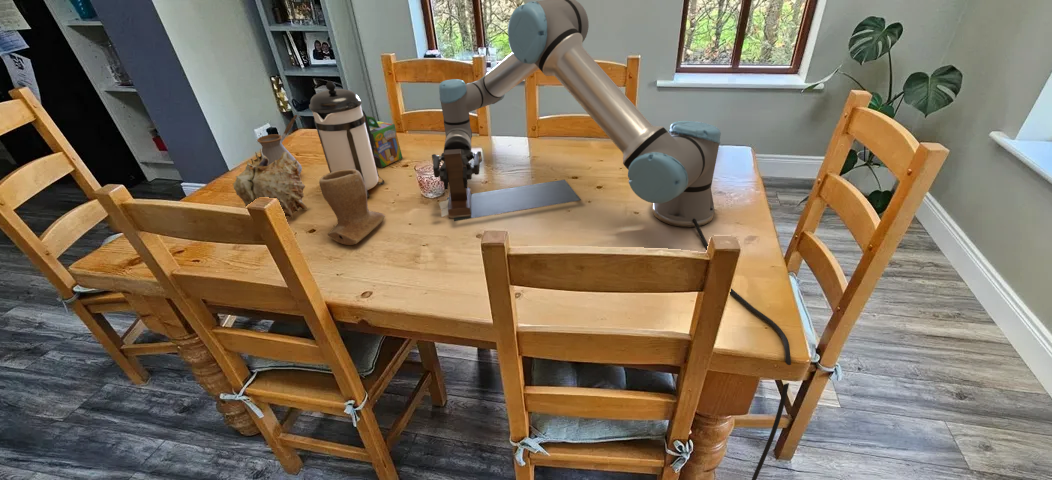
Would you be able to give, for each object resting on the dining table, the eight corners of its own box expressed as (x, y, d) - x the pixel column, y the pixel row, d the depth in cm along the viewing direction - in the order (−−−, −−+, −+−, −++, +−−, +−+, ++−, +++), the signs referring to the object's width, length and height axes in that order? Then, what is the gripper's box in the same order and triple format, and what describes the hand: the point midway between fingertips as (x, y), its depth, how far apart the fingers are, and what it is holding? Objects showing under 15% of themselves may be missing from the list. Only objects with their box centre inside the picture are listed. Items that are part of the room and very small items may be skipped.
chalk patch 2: (449, 216, 124) (448, 214, 123) (435, 222, 124) (434, 220, 124) (450, 209, 127) (448, 206, 126) (436, 215, 127) (435, 212, 127)
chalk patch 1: (448, 209, 127) (447, 207, 126) (435, 214, 128) (433, 211, 127) (450, 201, 130) (449, 198, 129) (437, 205, 131) (435, 203, 130)
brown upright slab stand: (471, 216, 123) (463, 160, 114) (449, 218, 123) (439, 162, 114) (471, 195, 133) (464, 142, 124) (451, 197, 132) (442, 143, 123)
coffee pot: (291, 188, 143) (272, 138, 134) (255, 186, 144) (235, 137, 135) (328, 160, 160) (314, 114, 151) (296, 158, 161) (280, 113, 152)
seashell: (297, 136, 125) (249, 142, 128) (253, 166, 111) (200, 173, 114) (328, 197, 135) (283, 201, 139) (292, 232, 121) (243, 236, 125)
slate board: (581, 205, 130) (581, 200, 129) (454, 226, 122) (454, 221, 121) (564, 184, 141) (564, 179, 140) (447, 202, 133) (446, 197, 132)
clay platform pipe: (352, 214, 129) (336, 160, 120) (392, 219, 126) (379, 164, 117) (315, 243, 117) (295, 186, 108) (358, 250, 114) (341, 191, 105)
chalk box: (403, 158, 159) (393, 113, 151) (381, 168, 153) (370, 121, 144) (383, 153, 163) (373, 109, 155) (362, 163, 157) (350, 117, 148)
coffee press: (395, 192, 139) (370, 82, 121) (337, 206, 132) (302, 92, 115) (379, 171, 151) (355, 69, 134) (325, 183, 145) (292, 78, 127)
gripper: (489, 159, 140) (491, 195, 121) (429, 163, 138) (422, 200, 119) (486, 133, 135) (489, 166, 117) (424, 137, 134) (416, 171, 115)
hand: (455, 183), depth 118 cm, fingers closed on brown upright slab stand, 4 cm apart
